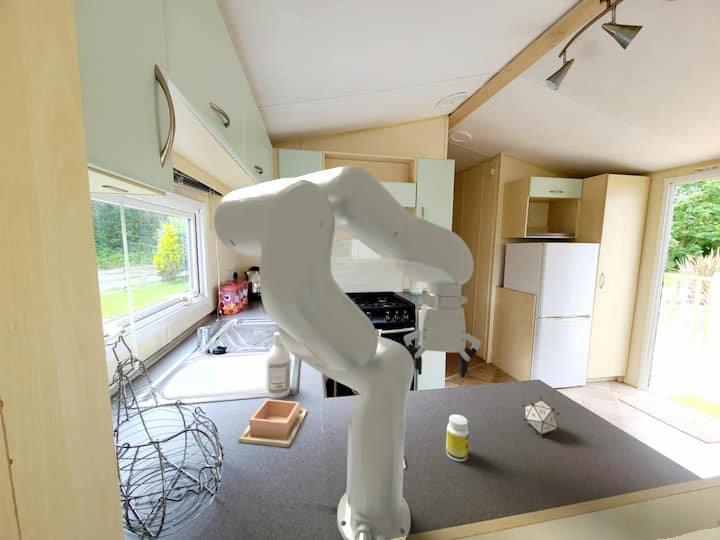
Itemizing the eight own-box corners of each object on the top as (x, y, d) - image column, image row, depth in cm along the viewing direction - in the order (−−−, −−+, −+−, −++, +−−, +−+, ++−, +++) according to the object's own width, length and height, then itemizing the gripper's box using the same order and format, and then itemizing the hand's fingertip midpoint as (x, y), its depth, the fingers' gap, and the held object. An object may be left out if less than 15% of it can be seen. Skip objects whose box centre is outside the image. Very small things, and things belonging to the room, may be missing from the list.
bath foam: (293, 397, 87) (294, 333, 86) (271, 404, 83) (272, 337, 81) (284, 388, 92) (284, 328, 91) (263, 394, 88) (263, 332, 87)
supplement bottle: (469, 463, 62) (471, 427, 61) (446, 460, 63) (448, 424, 62) (465, 448, 66) (467, 414, 66) (444, 445, 67) (446, 411, 67)
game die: (534, 446, 73) (513, 417, 72) (532, 419, 80) (513, 392, 79) (572, 444, 68) (551, 413, 67) (567, 416, 75) (547, 386, 74)
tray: (288, 452, 64) (288, 443, 63) (238, 446, 65) (238, 438, 65) (307, 416, 77) (307, 409, 77) (265, 412, 79) (265, 405, 79)
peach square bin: (286, 439, 66) (286, 423, 66) (249, 435, 67) (249, 419, 67) (299, 416, 75) (299, 402, 75) (266, 413, 76) (266, 399, 76)
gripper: (477, 300, 67) (474, 369, 68) (404, 297, 69) (402, 364, 70) (488, 306, 59) (483, 384, 61) (405, 303, 61) (403, 378, 63)
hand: (440, 373), depth 66 cm, fingers open, 9 cm apart
